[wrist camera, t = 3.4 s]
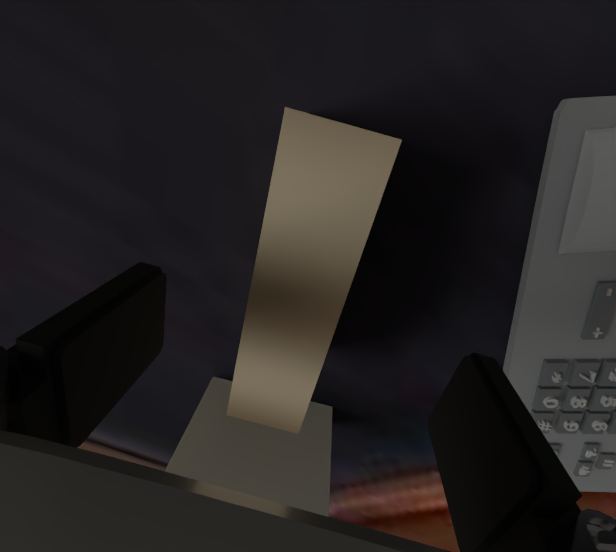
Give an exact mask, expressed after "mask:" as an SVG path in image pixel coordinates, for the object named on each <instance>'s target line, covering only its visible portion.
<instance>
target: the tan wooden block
mask: <svg viewBox="0 0 616 552" xmlns="http://www.w3.org/2000/svg"><path fill="white" fill-rule="evenodd" d="M401 142H402V140H401V139H398V138H394V137H390V136H387V135H383V134H380V133H376V132H372V131H369V130H365V129H362V128H358V127H355V126H351V125H347V124H344V123H340V122H337V121H333V120H330V119H326V118H322V117H319V116H315V115H312V114H308V113H304V112H301V111H297V110H294V109H290V108H287V107H285V111H284V116H283V121H282V127H281V132H280V137H279V142H278V147H277V153H276V158H275V163H274V168H273V173H272V179H271V184H270V189H269V194H268V200H267V205H266V210H265V215H264V220H263V226H262V231H261V236H260V241H259V246H258V252H257V257H256V262H255V267H254V273H253V278H252V283H251V288H250V293H249V299H248V304H247V309H246V314H245V319H244V325H243V330H242V335H241V340H240V346H239V351H238V356H237V361H236V366H235V372H234V377H233V382H232V387H231V392H230V398H229V403H228V408H227V413H226V415H228V416H232V417H236V418H239V419H243V420H247V421H251V422H255V423H258V424H262V425H266V426H270V427H274V428H278V429H281V430H285V431H289V432H293V433H297V434H299V431H300V428H301V425H302V422H303V420H304V417H305V414H306V411H307V408H308V405H309V403H310V400H311V397H312V394H313V391H314V388H315V386H316V383H317V380H318V377H319V374H320V371H321V369H322V366H323V363H324V360H325V357H326V354H327V352H328V349H329V346H330V343H331V340H332V337H333V335H334V332H335V329H336V326H337V323H338V320H339V317H340V315H341V312H342V309H343V306H344V303H345V300H346V298H347V295H348V292H349V289H350V286H351V283H352V281H353V278H354V275H355V272H356V269H357V266H358V264H359V261H360V258H361V255H362V252H363V249H364V247H365V244H366V241H367V238H368V235H369V232H370V230H371V227H372V224H373V221H374V218H375V215H376V212H377V210H378V207H379V204H380V201H381V198H382V195H383V193H384V190H385V187H386V184H387V181H388V178H389V176H390V173H391V170H392V167H393V164H394V161H395V159H396V156H397V153H398V150H399V147H400V144H401Z"/></svg>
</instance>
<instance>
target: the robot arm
mask: <svg viewBox="0 0 616 552" xmlns="http://www.w3.org/2000/svg"><path fill="white" fill-rule="evenodd" d="M165 299H166V274H165V273H162V270H161V268H160V267H157V266H154V265H150V264H146V263H142V262H140V263H137V264H136V265H134V266H133V267H131V268H129V269H128V270H126V271H125V272H123V273H121V274H120V275H118V276H117V277H115V278H113V279H112V280H110V281H108V282H107V283H105V284H104V285H102V286H100V287H99V288H97V289H96V290H94V291H92V292H91V293H89V294H88V295H86V296H84V297H83V298H81V299H79V300H78V301H76V302H75V303H73V304H71V305H70V306H68V307H67V308H65V309H63V310H62V311H60V312H59V313H57V314H55V315H54V316H52V317H51V318H49V319H47V320H46V321H44V322H42V323H41V324H39V325H38V326H36V327H34V328H33V329H31V330H30V331H28V332H26V333H25V334H23V335H22V336H20V337H18V338H17V339H15V340H16V345H14V346H13V347H11V348H9V349H8V350H6V349H5V348H4V347H2V346H0V552H450V551H447V550H443V549H440V548H436V547H433V546H429V545H426V544H422V543H419V542H415V541H412V540H408V539H405V538H401V537H398V536H394V535H391V534H387V533H384V532H380V531H377V530H373V529H370V528H366V527H363V526H359V525H356V524H352V523H348V522H345V521H341V520H338V519H334V518H331V517H327V516H324V515H320V514H316V513H313V512H309V511H306V510H302V509H299V508H295V507H291V506H288V505H284V504H281V503H277V502H274V501H270V500H266V499H263V498H259V497H256V496H252V495H248V494H245V493H241V492H238V491H234V490H230V489H227V488H223V487H220V486H216V485H212V484H209V483H205V482H201V481H198V480H194V479H190V478H187V477H183V476H179V475H176V474H172V473H169V472H165V471H161V470H158V469H154V468H150V467H147V466H143V465H139V464H136V463H132V462H128V461H125V460H121V459H117V458H114V457H110V456H106V455H103V454H99V453H95V452H91V451H87V450H83V449H79V448H77V447H78V446H80V445H81V444H82V443H83V442H84V441H85V439H86V438H87V437H88V436H89V435H90V434H91V433H92V431H93V430H94V429H95V428H96V427H97V426H98V424H99V423H100V422H101V421H102V420H103V419H104V417H105V416H106V415H107V414H108V413H109V412H110V410H111V409H112V408H113V407H114V406H115V405H116V403H117V402H118V401H119V400H120V399H121V398H122V396H123V395H124V394H125V393H126V392H127V391H128V390H129V388H130V387H131V386H132V385H133V384H134V383H135V381H136V380H137V379H138V378H139V377H140V376H141V374H142V373H143V372H144V371H145V370H146V369H147V367H148V366H149V365H150V364H151V363H152V362H153V360H154V359H155V358H156V357H157V356H158V355H159V353H160V351H161V349H162V346H163V339H164V319H165ZM428 430H429V434H430V438H431V442H432V446H433V449H434V453H435V457H436V461H437V465H438V469H439V473H440V476H441V480H442V484H443V488H444V492H445V496H446V500H447V503H448V507H449V511H450V515H451V519H452V523H453V527H454V530H455V534H456V538H457V542H458V546H459V549H460V552H616V520H615V519H613V518H612V517H610V516H608V515H606V514H604V513H602V512H600V511H596V510H591V509H587V510H583V511H581V510H580V509H579V507H578V505H577V504H576V501H577V500H578V499H580V498H581V497H582V495H581V493H580V492H579V490H578V488H577V487H576V485H575V484H574V482H573V480H572V479H571V477H570V476H569V474H568V473H567V471H566V469H565V468H564V466H563V465H562V463H561V462H560V460H559V458H558V457H557V455H556V454H555V452H554V451H553V449H552V447H551V446H550V444H549V443H548V441H547V439H546V438H545V436H544V435H543V433H542V432H541V430H540V428H539V427H538V425H537V424H536V422H535V421H534V419H533V417H532V416H531V414H530V413H529V411H528V409H527V408H526V406H525V405H524V403H523V402H522V400H521V398H520V397H519V395H518V394H517V392H516V391H515V389H514V387H513V386H512V384H511V383H510V381H509V379H508V378H507V376H506V375H505V373H504V372H503V370H502V368H501V367H500V365H499V364H498V362H497V361H496V360H495V359H494V358H492V357H488V356H484V355H481V354H477V353H472V354H471V355H470V356H465V357H464V358H463V359H462V361H461V362H460V364H459V366H458V368H457V369H456V371H455V373H454V375H453V376H452V378H451V380H450V382H449V383H448V385H447V387H446V389H445V390H444V392H443V394H442V396H441V397H440V399H439V401H438V403H437V404H436V406H435V408H434V409H433V411H432V413H431V415H430V417H429V420H428Z"/></svg>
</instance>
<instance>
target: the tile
mask: <svg viewBox="0 0 616 552" xmlns="http://www.w3.org/2000/svg"><path fill="white" fill-rule="evenodd" d="M232 382H233V381H229V380H225V379H221V378H217V377H213V378H212V380H211V382H210V384H209V386H208V388H207V390H206V392H205V394H204V395H203V397H202V399H201V401H200V403H199V405H198V407H197V409H196V411H195V413H194V415H193V417H192V419H191V421H190V423H189V425H188V427H187V429H186V431H185V433H184V434H183V436H182V438H181V440H180V442H179V444H178V446H177V448H176V450H175V452H174V454H173V456H172V458H171V460H170V462H169V464H168V466H167V468H166V470H165V472H169V473H172V474H176V475H179V476H183V477H187V478H190V479H194V480H198V481H201V482H205V483H209V484H212V485H216V486H220V487H223V488H227V489H230V490H234V491H238V492H241V493H245V494H248V495H252V496H256V497H259V498H263V499H266V500H270V501H274V502H277V503H281V504H284V505H288V506H291V507H295V508H299V509H302V510H306V511H309V512H313V513H316V514H320V515H324V516H327V517H329V491H330V463H331V435H332V407H331V406H327V405H324V404H320V403H316V402H312V401H310V403H309V405H308V408H307V411H306V414H305V417H304V420H303V422H302V425H301V428H300V431H299V434H297V433H293V432H289V431H285V430H281V429H278V428H274V427H270V426H266V425H262V424H258V423H255V422H251V421H247V420H243V419H239V418H236V417H232V416H228V415H226V413H227V408H228V403H229V398H230V392H231V387H232Z"/></svg>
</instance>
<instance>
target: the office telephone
mask: <svg viewBox="0 0 616 552" xmlns="http://www.w3.org/2000/svg"><path fill="white" fill-rule="evenodd" d="M503 372H504V373H505V375H506V376H507V378H508V379H509V381H510V383H511V384H512V386H513V387H514V389H515V391H516V392H517V394H518V395H519V397H520V398H521V400H522V402H523V403H524V405H525V406H526V408H527V409H528V411H529V413H530V414H531V416H532V417H533V419H534V421H535V422H536V424H537V425H538V427H539V428H540V430H541V432H542V433H543V435H544V436H545V438H546V439H547V441H548V443H549V444H550V446H551V447H552V449H553V451H554V452H555V454H556V455H557V457H558V458H559V460H560V462H561V463H562V465H563V466H564V468H565V469H566V471H567V473H568V474H569V476H570V477H571V479H572V480H573V482H574V484H575V485H576V487H577V488H578V490H579V491H591V492H616V96H602V97H584V98H569V99H563V100H562V101H561V102H560V104H559V106H558V108H557V109H556V110H555V111H554V115H553V120H552V125H551V130H550V135H549V139H548V144H547V149H546V154H545V159H544V163H543V168H542V173H541V178H540V183H539V188H538V193H537V198H536V203H535V208H534V213H533V218H532V223H531V228H530V234H529V239H528V244H527V249H526V254H525V259H524V264H523V269H522V275H521V280H520V285H519V290H518V295H517V300H516V305H515V310H514V316H513V321H512V326H511V331H510V336H509V341H508V346H507V351H506V356H505V361H504V367H503Z"/></svg>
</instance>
